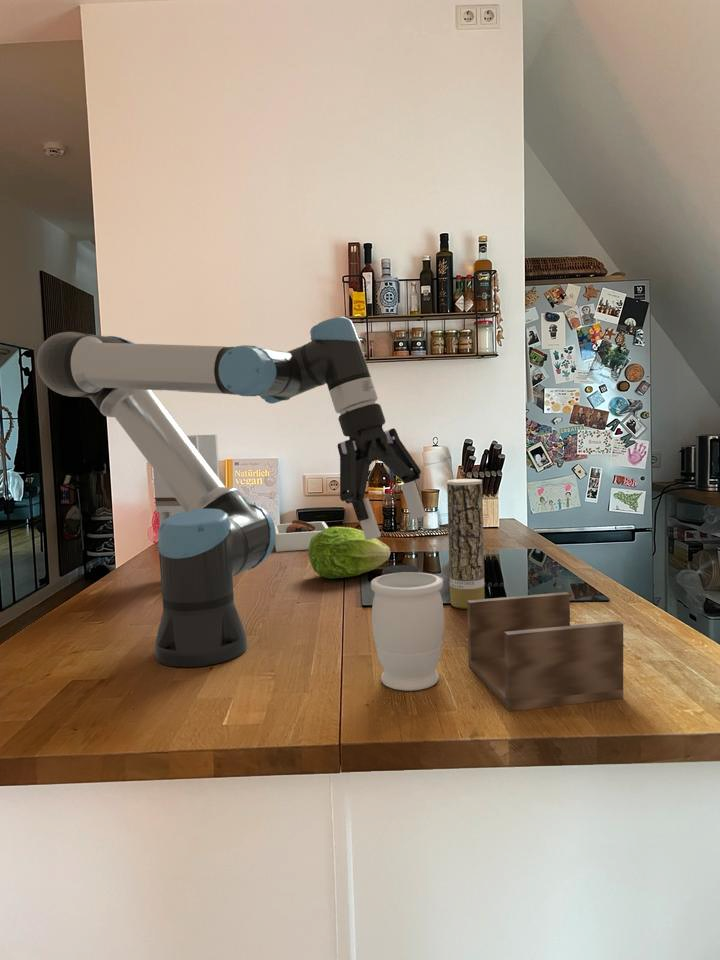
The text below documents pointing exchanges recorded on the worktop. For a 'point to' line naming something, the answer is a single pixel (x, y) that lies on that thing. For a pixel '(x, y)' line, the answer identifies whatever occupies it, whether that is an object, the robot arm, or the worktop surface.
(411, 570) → the smart speaker
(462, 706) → the worktop surface
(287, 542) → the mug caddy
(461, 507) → the paper tube
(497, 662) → the holder
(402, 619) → the jar
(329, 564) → the lettuce
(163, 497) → the display case
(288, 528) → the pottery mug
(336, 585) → the worktop surface
